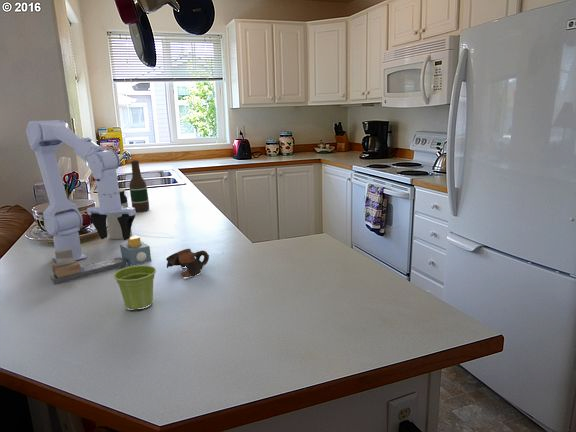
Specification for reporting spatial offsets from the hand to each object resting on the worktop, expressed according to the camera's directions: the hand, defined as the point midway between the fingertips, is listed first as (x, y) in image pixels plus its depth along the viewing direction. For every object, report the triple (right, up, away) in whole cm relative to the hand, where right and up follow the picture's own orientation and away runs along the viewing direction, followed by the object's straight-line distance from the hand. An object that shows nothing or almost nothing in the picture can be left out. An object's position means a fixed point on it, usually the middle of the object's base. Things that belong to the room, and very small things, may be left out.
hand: (115, 238), depth 124 cm
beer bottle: (-20, +9, +79) cm, 82 cm away
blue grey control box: (+3, -7, +10) cm, 13 cm away
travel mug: (-13, -1, +37) cm, 39 cm away
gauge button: (+2, -3, +9) cm, 10 cm away
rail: (-8, -10, +1) cm, 13 cm away
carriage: (-13, -9, -3) cm, 16 cm away
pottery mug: (+22, -10, -2) cm, 24 cm away
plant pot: (+15, -15, -22) cm, 31 cm away
